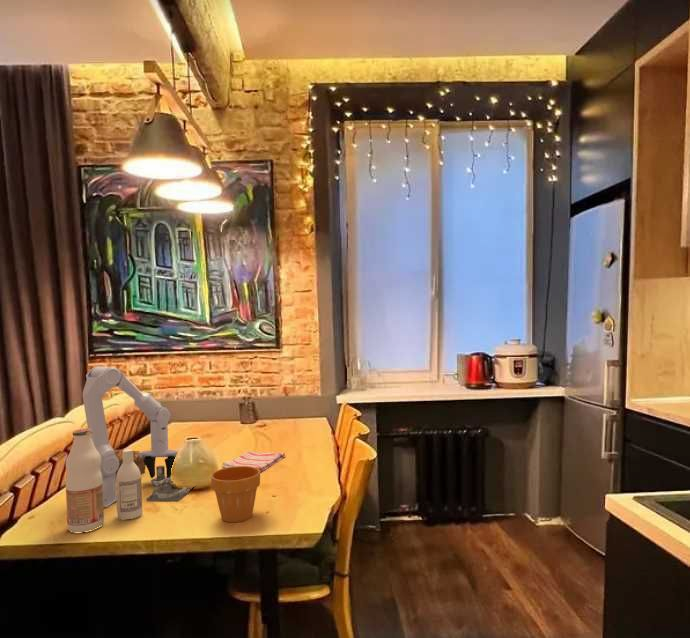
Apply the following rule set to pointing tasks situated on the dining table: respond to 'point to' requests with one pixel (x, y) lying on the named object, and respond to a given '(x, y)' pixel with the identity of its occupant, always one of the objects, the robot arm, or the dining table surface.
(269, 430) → the dining table surface
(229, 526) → the dining table surface
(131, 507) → the bath foam
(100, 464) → the robot arm
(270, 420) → the dining table surface
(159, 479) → the planet gear
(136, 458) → the bread
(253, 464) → the dish towel
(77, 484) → the fruit juice
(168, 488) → the carrier plate
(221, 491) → the flower pot
